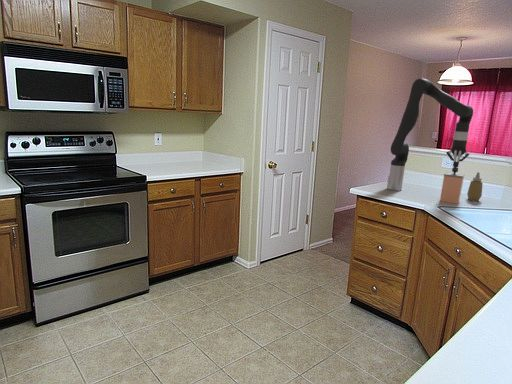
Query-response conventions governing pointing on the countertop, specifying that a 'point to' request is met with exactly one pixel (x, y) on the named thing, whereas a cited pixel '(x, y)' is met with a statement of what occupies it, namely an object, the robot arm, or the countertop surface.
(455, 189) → the open tunnel frame
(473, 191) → the squeeze bottle
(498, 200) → the countertop surface
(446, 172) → the drawer with knob
